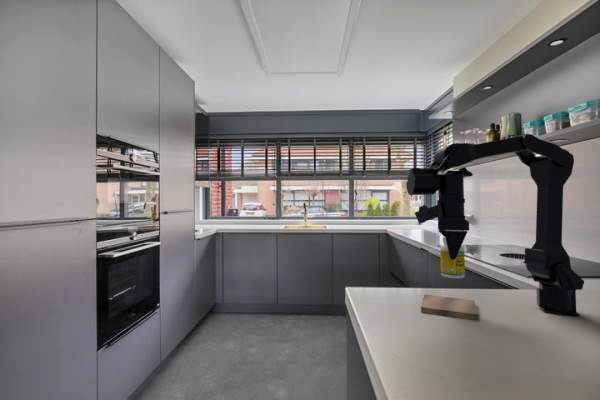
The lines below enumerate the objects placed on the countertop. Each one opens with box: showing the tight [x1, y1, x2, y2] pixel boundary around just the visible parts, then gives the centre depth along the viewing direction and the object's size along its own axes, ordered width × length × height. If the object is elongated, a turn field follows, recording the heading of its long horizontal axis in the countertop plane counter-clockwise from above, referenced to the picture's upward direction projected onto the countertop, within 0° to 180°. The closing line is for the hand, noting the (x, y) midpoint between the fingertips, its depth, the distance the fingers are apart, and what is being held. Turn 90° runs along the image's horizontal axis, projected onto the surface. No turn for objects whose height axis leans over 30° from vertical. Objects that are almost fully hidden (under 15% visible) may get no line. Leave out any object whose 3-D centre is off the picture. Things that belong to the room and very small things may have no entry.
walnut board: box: [420, 294, 479, 321], centre depth 73 cm, size 12×12×1 cm
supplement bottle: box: [439, 236, 466, 279], centre depth 72 cm, size 5×5×10 cm
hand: (452, 257), depth 72 cm, fingers closed on supplement bottle, 5 cm apart
